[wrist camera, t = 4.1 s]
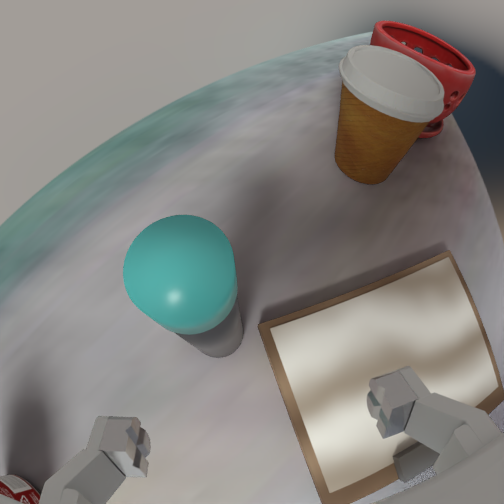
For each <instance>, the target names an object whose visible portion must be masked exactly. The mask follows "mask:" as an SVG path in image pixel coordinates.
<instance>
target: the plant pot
mask: <svg viewBox="0 0 504 504" xmlns="http://www.w3.org/2000/svg"><path fill="white" fill-rule="evenodd" d="M401 42H405V43H406V45H404V44H402V43H401ZM370 45H372V46H380V47H384V48H388V49H391V50H394V51H397V52H400V53H402V54H404V55H406V56H408V57H410V58H412V59H414V60H416V61H417V62H419V63H420V64H422V65H423V66H425V67H426V68H427V69H428V70H430V71H431V72H432V73H433V74H434V75H435V76H436V77H437V79H438V80H439V81H440V82H441V84H442V86H443V89H444V98H443V102H444V109H443V111H442V113H441V114H440V115H439V116H438V117H435V118H434V119H433V120H431V121H430V122H429V123H428V125H427V126H426V127H425V129H424V130H423V131H422V133H421V134H420V135H419V137H418V138H430V137H433V136H436V135H438V134H439V133H440V132H441V130H442V129H443V119H444V118H446V117H447V116H448V115H450V114H451V113H452V112H453V111H454V110H455V109H456V108H457V107H458V105H459V104H460V102H461V101H462V99H463V98H464V96H465V94H466V93H467V91H468V89H469V88H470V86H471V84H472V81H473V79H474V76H475V68H474V67H473V65H472V64H471V63H470V61H469V60H468V59H467V58H466V57H465V56H464V55H463V54H461V53H460V52H459V51H458V50H456V49H455V48H454V47H452V46H450V45H449V44H448V43H446V42H444V41H443V40H441V39H439V38H437V37H435V36H434V35H432V34H430V33H428V32H425V31H423V30H420V29H418V28H415V27H413V26H409V25H406V24H403V23H398V22H393V21H380V22H377V23H376V24H375V26H374V30H373V34H372V38H371V43H370ZM416 47H418V48H421V49H422V54H421V53H419V52H417V51H415V50H414V48H416ZM432 58H436V59H437V60H438V61H439V62H438V61H436V60H434V59H432ZM448 65H451V66H452V67H450V66H448Z"/></svg>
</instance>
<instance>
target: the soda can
mask: <svg viewBox="0 0 504 504" xmlns="http://www.w3.org/2000/svg"><path fill="white" fill-rule="evenodd" d="M0 494H2V495H4V496H7V497H9V498H11V499H14V500H16V501H19V502H21V503H24V504H39V500H40V497H41V495H40V493H39V492H38V491H37V490H36V489H35V488H34V487H33V486H32V485H31V484H30V483H29V482H28V481H27V480H25V479H24V478H22V477H20V476H18V475H13V474H11V475H5V476H0Z"/></svg>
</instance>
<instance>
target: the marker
mask: <svg viewBox="0 0 504 504" xmlns="http://www.w3.org/2000/svg"><path fill="white" fill-rule="evenodd" d="M123 278H124V284H125V288H126V291H127V293H128V295H129V297H130V299H131V300H132V302H133V303H134V304H135V305H136V306H137V307H138V308H139V309H140V310H141V311H142V312H144V313H145V314H146V315H148V316H149V317H150V318H152V319H153V320H154V321H156V322H157V323H158V324H160V325H161V326H163V327H164V328H166V329H168V330H170V331H172V332H175V333H176V334H177V335H179V336H180V337H181V338H183V339H184V340H186V341H187V342H188V343H190V344H191V345H193V346H194V347H196V348H197V349H198V350H200V351H201V352H203V353H204V354H206V355H208V356H211V357H215V358H220V357H226V356H228V355H230V354H232V353H233V352H235V351H236V350H237V349H238V347H239V346H240V344H241V342H242V339H243V328H242V322H241V316H240V310H239V304H238V298H237V287H238V284H237V276H236V269H235V262H234V254H233V251H232V247H231V245H230V242H229V241H228V239H227V237H226V236H225V234H224V233H223V232H222V231H221V230H220V229H219V228H218V227H217V226H216V225H214V224H213V223H211V222H210V221H208V220H206V219H203V218H200V217H197V216H192V215H175V216H170V217H166V218H163V219H160V220H158V221H156V222H154V223H152V224H151V225H149V226H148V227H147V228H145V229H144V230H143V231H142V232H141V233H140V234H139V235H138V236H137V237H136V238H135V240H134V241H133V243H132V244H131V246H130V248H129V250H128V252H127V254H126V258H125V261H124V267H123Z"/></svg>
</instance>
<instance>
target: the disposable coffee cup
mask: <svg viewBox="0 0 504 504" xmlns="http://www.w3.org/2000/svg"><path fill="white" fill-rule="evenodd" d="M339 72H340V74H341V78H342V89H341V100H340V112H339V121H338V130H337V134H338V135H337V139H336V143H337V144H336V148H335V160H336V163H337V165H338V167H339V168H340V169H341V170H342V172H343V173H345V174H346V175H347V176H348V177H350V178H351V179H353V180H355V181H358V182H361V183H365V184H378V183H381V182H383V181H384V180H386V178H387V177H388V176H389V174H390V173H391V172H392V171H393V169H394V168H395V167H396V166H397V164H398V163H399V162H400V161H401V159H402V158H403V157H404V155H405V154H406V153H407V152H408V150H409V149H410V147H411V146H412V145H413V143H414V142H415V141H416V140H417V138H418V137H419V135H420V134H421V133H422V131H423V130H424V129H425V127H426V126H427V125H428V123H429V122H430V121H431V120H433V119H434V118H435V117H438V116H439V115H440V114H441V113H442V111H443V109H444V102H443V98H444V89H443V86H442V84H441V82H440V81H439V80H438V79H437V77H436V76H435V75H434V74H433V73H432V72H431V71H430V70H428V69H427V68H426V67H425V66H423V65H422V64H420V63H419V62H417V61H416V60H414V59H412V58H410V57H408V56H406V55H404V54H402V53H400V52H397V51H394V50H391V49H388V48H384V47H380V46H372V45H360V46H356V47H353V48H351V49H350V50H349V51H348V53H347V55H346V57H344V58H343V59H342V60H341V61H340V63H339Z"/></svg>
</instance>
